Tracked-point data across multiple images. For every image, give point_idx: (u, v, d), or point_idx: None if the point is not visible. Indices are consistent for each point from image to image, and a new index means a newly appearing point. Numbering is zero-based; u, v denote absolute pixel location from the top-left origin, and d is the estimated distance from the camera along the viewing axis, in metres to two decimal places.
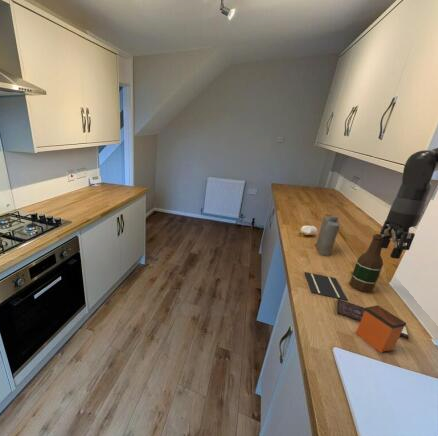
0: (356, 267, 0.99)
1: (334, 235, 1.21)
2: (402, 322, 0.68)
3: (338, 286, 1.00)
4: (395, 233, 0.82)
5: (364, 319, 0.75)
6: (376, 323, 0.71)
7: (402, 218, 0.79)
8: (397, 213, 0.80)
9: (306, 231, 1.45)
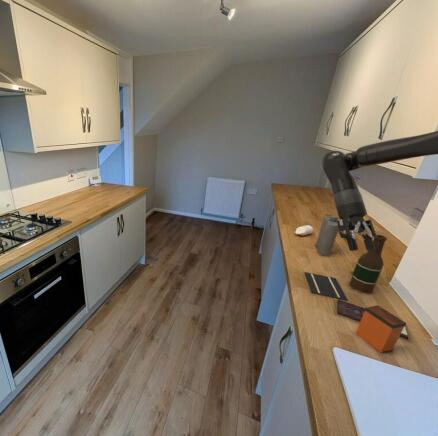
0: (356, 267, 0.98)
1: (334, 235, 1.21)
2: (402, 322, 0.68)
3: (338, 286, 1.00)
4: None
5: (364, 319, 0.75)
6: (376, 323, 0.71)
7: (339, 210, 0.83)
8: (336, 208, 0.85)
9: (301, 232, 1.47)
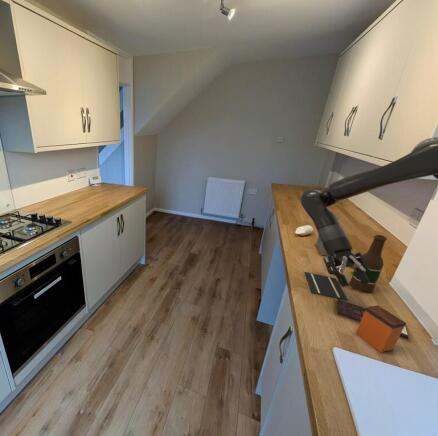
0: None
1: None
2: (402, 322, 0.68)
3: (338, 286, 1.00)
4: None
5: (364, 319, 0.75)
6: (376, 323, 0.71)
7: (324, 246, 0.85)
8: None
9: (301, 232, 1.47)
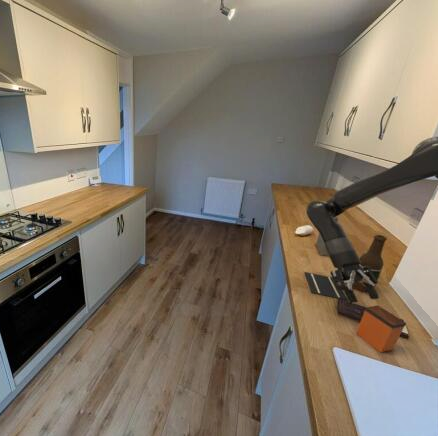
0: None
1: None
2: (402, 322, 0.68)
3: None
4: None
5: (364, 319, 0.75)
6: (376, 323, 0.71)
7: (332, 260, 0.83)
8: None
9: (301, 232, 1.47)
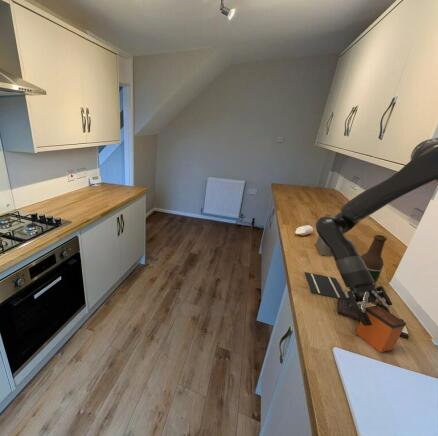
0: None
1: None
2: (402, 322, 0.68)
3: (338, 286, 1.00)
4: (355, 296, 0.77)
5: None
6: (376, 323, 0.71)
7: (343, 279, 0.79)
8: (341, 275, 0.81)
9: (301, 232, 1.47)
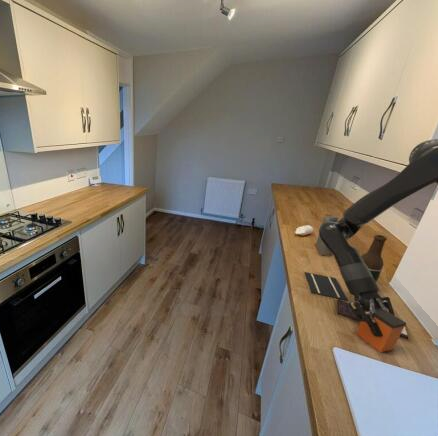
0: None
1: None
2: (402, 322, 0.68)
3: (338, 286, 1.00)
4: (359, 304, 0.76)
5: None
6: None
7: (347, 286, 0.78)
8: (345, 282, 0.80)
9: (301, 232, 1.47)
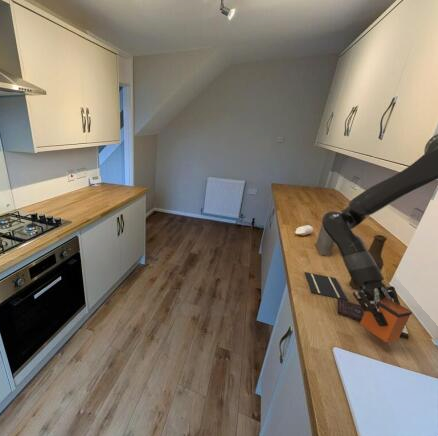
0: None
1: None
2: (407, 310, 0.67)
3: (338, 286, 1.00)
4: (364, 294, 0.74)
5: None
6: None
7: (351, 276, 0.77)
8: None
9: (301, 232, 1.47)
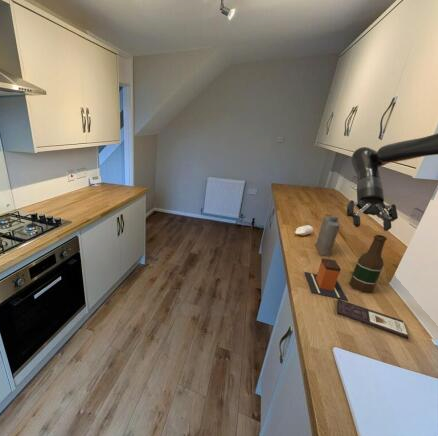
0: (356, 267, 0.98)
1: (334, 235, 1.21)
2: (337, 268, 0.94)
3: (338, 286, 1.00)
4: (361, 209, 0.92)
5: (320, 267, 1.02)
6: (322, 268, 0.99)
7: (357, 196, 0.95)
8: None
9: (301, 232, 1.47)
